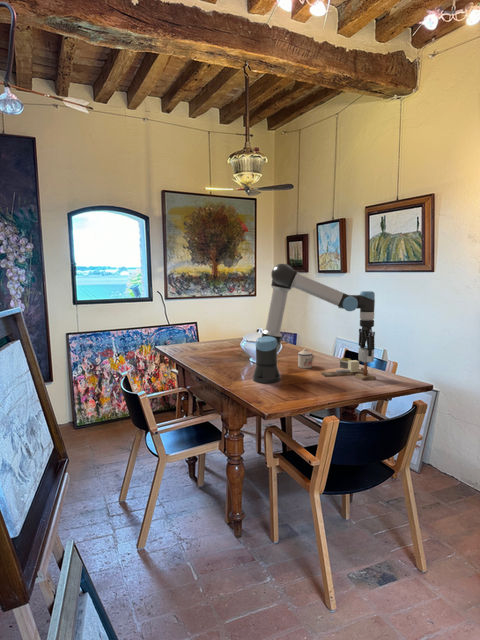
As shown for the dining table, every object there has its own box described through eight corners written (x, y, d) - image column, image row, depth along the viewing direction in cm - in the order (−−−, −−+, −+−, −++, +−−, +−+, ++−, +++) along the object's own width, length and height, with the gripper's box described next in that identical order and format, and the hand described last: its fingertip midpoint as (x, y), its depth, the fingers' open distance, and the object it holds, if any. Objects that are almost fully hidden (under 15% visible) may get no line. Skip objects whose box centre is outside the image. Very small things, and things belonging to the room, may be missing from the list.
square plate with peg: (362, 380, 213) (362, 365, 212) (355, 376, 221) (355, 361, 220) (375, 379, 214) (375, 364, 213) (368, 375, 222) (368, 361, 221)
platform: (338, 364, 251) (339, 354, 250) (364, 369, 238) (364, 359, 237) (328, 368, 243) (328, 357, 242) (354, 373, 230) (354, 362, 229)
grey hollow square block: (363, 362, 213) (363, 349, 212) (358, 360, 219) (358, 347, 218) (373, 361, 214) (373, 349, 213) (368, 359, 220) (368, 347, 219)
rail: (324, 376, 221) (325, 372, 220) (321, 374, 227) (321, 370, 226) (367, 374, 225) (367, 370, 225) (362, 371, 231) (362, 367, 231)
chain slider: (337, 372, 223) (338, 362, 222) (335, 371, 227) (335, 361, 226) (358, 371, 225) (359, 361, 224) (355, 370, 229) (356, 360, 228)
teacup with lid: (304, 369, 238) (305, 350, 236) (294, 366, 245) (294, 348, 244) (318, 366, 245) (318, 348, 243) (308, 364, 252) (308, 346, 251)
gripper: (382, 321, 205) (381, 363, 208) (364, 317, 223) (363, 356, 226) (369, 321, 203) (368, 364, 206) (352, 317, 222) (351, 357, 225)
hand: (365, 360), depth 216 cm, fingers closed on grey hollow square block, 6 cm apart
